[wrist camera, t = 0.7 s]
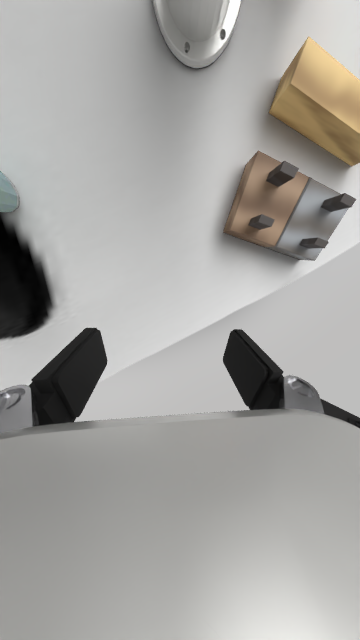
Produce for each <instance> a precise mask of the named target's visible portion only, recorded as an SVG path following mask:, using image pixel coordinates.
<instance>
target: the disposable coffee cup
mask: <svg viewBox="0 0 360 640" xmlns="http://www.w3.org/2000/svg"><path fill="white" fill-rule="evenodd" d="M18 206H19V196H18V193H17V191H16V189H15V187H14V185H13V184H12V183H11V182H10V181H9V179H8V178H7V177H6V176H5V175H4V174H2V172H1V171H0V212H12V211H14V210H15V209H16V208H17V207H18Z"/></svg>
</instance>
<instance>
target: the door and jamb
mask: <svg viewBox="0 0 360 640" xmlns="http://www.w3.org/2000/svg"><path fill="white" fill-rule="evenodd" d="M298 169H299V168H297V167H295V166H293V165H291V164H289V163H288V162H286V161H284V162H282V163H281V162H279V161H277V160H275V159H273V158H271V157H270V156H268V155H266V154H264V153H262V152H260V151H258V152H257V153H256V154H255V155H254V156H253V157H252V158H251V159H250V161H249V162H248V163H247V164H246V166H245V169H244V172H243V175H242V178H241V181H240V184H239V187H238V190H237V193H236V196H235V198H234V201H233V204H232V207H231V210H230V213H229V216H228V219H227V222H226V225H225V228H224V231H223V233H226V234H229V235H232V236H235V237H237V238H240V239H243V240H246V241H249V242H252V243H254V244H257V245H260V246H263V247H266V248H268V249H271V250H274V251H277V252H280V253H282V254H285V255H288V256H291V257H294V258H297V259H299V260H314V261H315V260H316V258H317V256H318V255H319V253H320V252H321V250H322V249H323V248H325V247H326V245H327V244H328V239H329V238H330V236H331V235H332V233H333V232H334V230H335V228H336V227H337V225H338V224H339V222H340V221H341V219H342V218H343V216H344V214H345V213H346V211H347V210H348V208H349V207H352V205H353V204H354V202H355V201H356V199H355V198H353V197H351V196H349V195H348V194H346V193H344V194H340V193H338V192H336V191H334V190H332V189H330V188H328V187H326V186H325V185H323V184H321V183H319V182H317V181H315V180H313V179H312V178H310V177H307V176H306V175H304V174H302V173H300V172H298Z"/></svg>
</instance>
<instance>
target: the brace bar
mask: <svg viewBox="0 0 360 640" xmlns="http://www.w3.org/2000/svg"><path fill="white" fill-rule="evenodd" d="M269 114H271V115H272V116H274V117H276V118H277V119H279V120H280V121H282V122H283V123H285V124H286V125H288V126H290V127H291V128H293V129H294V130H296V131H297V132H299V133H300V134H302V135H303V136H305V137H307V138H308V139H310V140H311V141H313V142H314V143H316V144H317V145H319V146H321V147H322V148H324V149H325V150H327V151H328V152H330V153H331V154H333V155H335V156H336V157H338V158H339V159H341V160H342V161H344V162H345V163H347V164H348V165H350V166H353V165H356V164H358V163H360V80H359V79H358V78H357V77H355V76H354V75H353V74H352V73H351V72H350V71H348V70H347V69H346V68H345V67H344V66H343V65H342V64H340V63H339V62H338V61H337V60H336V59H335V58H333V57H332V56H331V55H330V54H329V53H328V52H326V51H325V50H324V49H323V48H322V47H321V46H319V45H318V44H317V43H316V42H315V41H314V40H312V39H311V38H310V37H309V36H308V38H307V40H306V41H305V43H304V44H303V46H302V47H301V49H300V50H299V52H298V53H297V55H296V56H295V58H294V59H293V61H292V62H291V64H290V65H289V67H288V68H287V70H286V71H285V73H284V74H283V76H282V78H281V80H280V83H279V86H278V89H277V92H276V94H275V97H274V100H273V103H272V105H271V108H270V111H269Z"/></svg>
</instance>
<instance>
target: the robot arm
mask: <svg viewBox="0 0 360 640" xmlns="http://www.w3.org/2000/svg"><path fill="white" fill-rule="evenodd" d="M241 1H242V0H153V4H154V9H155V14H156V18H157V21H158V24H159V27H160V30H161V33H162V35H163V37H164V39H165V41H166V43H167V45H168V47H169V48H170V50H171V51H172V53H173V54H174V55H175V56H176V57H177V58H178V60H179V61H181V62H182V63H184V64H185V65H187V66H190V67H193V68H202V67H205V66H208V65H210V64H211V63H212V62H214V61H215V60H216V59H217V58H218V57H219V56H220V55H221V53H222V52H223V50H224V49H225V47H226V45H227V44H228V42H229V39H230V37H231V35H232V32H233V30H234V26H235V23H236V20H237V17H238V13H239V9H240V5H241ZM223 362H224V365H225V366H226V368H227V370H228V372H229V374H230V376H231V378H232V380H233V382H234V384H235V386H236V388H237V389H238V391H239V393H240V395H241V397H242V399H243V401H244V403H245V404H246V405H247V406H248V407H249V409H250V410H244V411H228V412H212V413H197V414H183V415H168V416H167V415H166V416H152V417H138V418H124V419H111V420H97V421H84V422H74V421H75V419H76V417H79V416H80V414H81V413H82V411H83V409H84V407H85V405H86V403H87V401H88V399H89V397H90V396H91V394H92V392H93V390H94V388H95V386H96V384H97V382H98V380H99V378H100V377H101V375H102V373H103V371H104V369H105V367H106V365H107V357H106V353H105V349H104V345H103V341H102V336H101V332H100V330H97V328H85V329H84V330H83V331H82V332H81V333H80V334H79V335H78V336H77V337H76V338H75V339H74V340H73V341H71V342H70V343H69V344H68V345H67V346H66V347H65V348H64V349H63V350H62V351H61V352H60V353H59V354H58V355H57V356H56V357H55V358H54V359H53V360H51V361H50V362H49V363H48V364H47V365H46V366H45V367H44V368H43V369H42V370H41V371H40V372H39V373H38V374H37V375H36V376H35V377H34V378H33V379H32V383H31V384H30V385H29V386H27V385H17V386H12V387H9V388H6V389H4V390H2V391H0V640H360V418H359V417H357V416H355V415H353V414H351V413H349V412H347V411H344V410H343V409H340V408H339V407H336V406H334V405H332V404H330V403H328V402H326V401H324V400H322V399H320V397H319V394H318V392H317V391H316V389H315V388H314V387H313V386H312V385H310V384H309V383H308V382H306V381H305V380H303V379H301V378H299V377H296V376H291V375H289V376H285V377H283V376H282V373H283V371H282V370H281V369H280V368H279V367H278V366H277V365H276V364H275V363H274V362H273V361H272V360H271V358H270V357H269V356H268V355H267V354H266V353H265V352H264V351H263V350H262V349H261V348H260V347H259V346H258V345H257V344H256V343H255V342H254V341H253V340H252V339H251V338H250V337H249V336H248V335H247V334H246V333H245V332H244V331H243V330H237V329H235V330H233V331H231V333H230V336H229V339H228V343H227V346H226V349H225V353H224V356H223Z"/></svg>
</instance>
